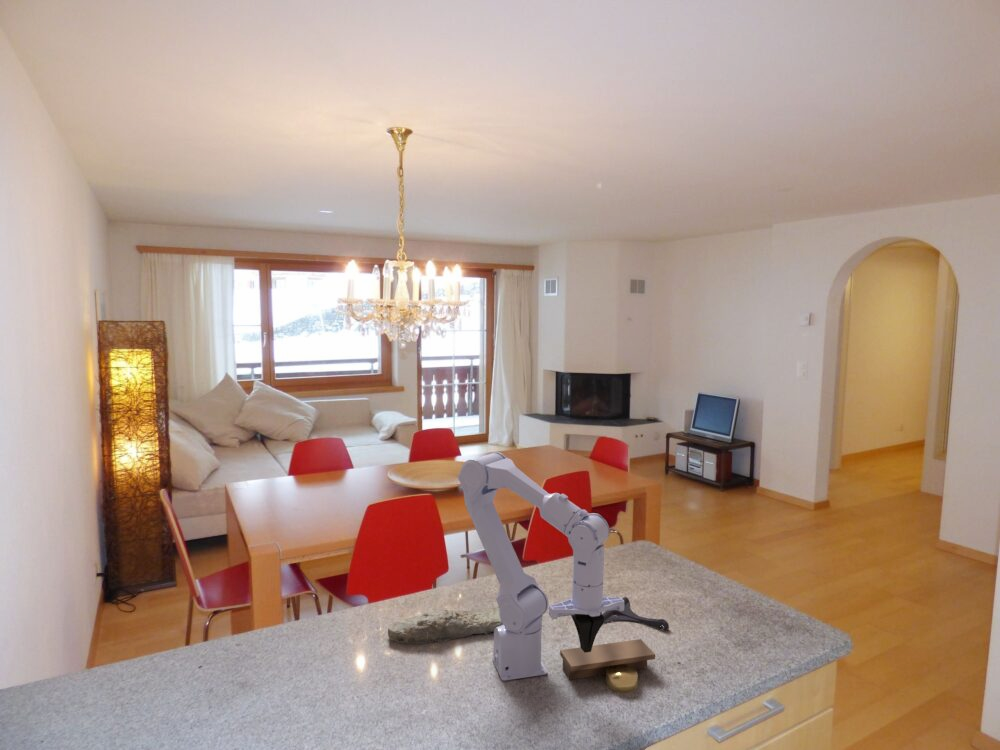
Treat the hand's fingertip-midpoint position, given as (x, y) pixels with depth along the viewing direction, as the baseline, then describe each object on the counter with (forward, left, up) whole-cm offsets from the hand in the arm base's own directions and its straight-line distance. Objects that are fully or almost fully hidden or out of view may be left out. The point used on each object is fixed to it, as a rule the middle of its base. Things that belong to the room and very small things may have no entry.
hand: (585, 649), depth 117 cm
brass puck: (+8, +1, -8) cm, 12 cm away
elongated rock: (-17, +28, -9) cm, 34 cm away
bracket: (+23, +23, -9) cm, 33 cm away
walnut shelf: (+7, +5, -8) cm, 12 cm away
